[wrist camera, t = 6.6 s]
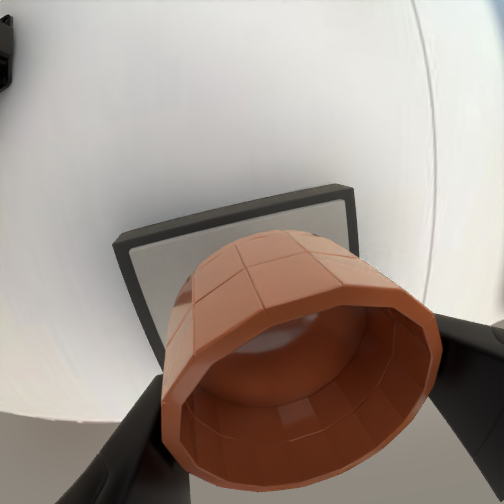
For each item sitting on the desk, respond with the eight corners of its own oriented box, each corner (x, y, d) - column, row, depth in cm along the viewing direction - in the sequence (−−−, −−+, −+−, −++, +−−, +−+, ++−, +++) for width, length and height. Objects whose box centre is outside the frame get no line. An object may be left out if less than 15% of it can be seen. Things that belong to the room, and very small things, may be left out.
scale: (174, 373, 21) (173, 400, 18) (121, 233, 17) (108, 247, 14) (347, 326, 23) (365, 346, 20) (336, 183, 19) (359, 188, 16)
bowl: (205, 420, 10) (215, 506, 7) (138, 262, 8) (100, 345, 4) (367, 371, 11) (418, 438, 7) (363, 207, 9) (457, 244, 5)
